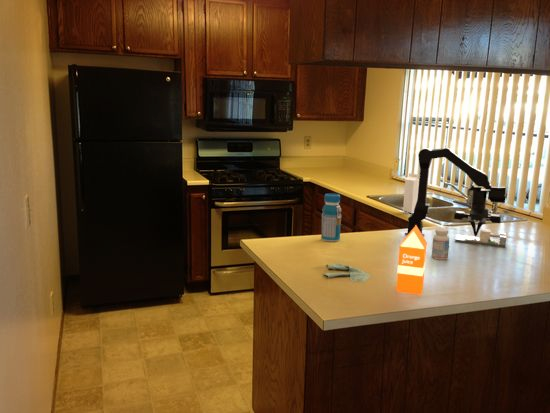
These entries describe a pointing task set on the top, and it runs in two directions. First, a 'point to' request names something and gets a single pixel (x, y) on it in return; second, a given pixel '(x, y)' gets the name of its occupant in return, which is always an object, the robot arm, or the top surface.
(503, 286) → the top surface
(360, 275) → the cloth
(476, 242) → the gauge base
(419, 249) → the orange juice
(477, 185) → the robot arm
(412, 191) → the milk
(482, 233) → the white square block
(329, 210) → the beverage bottle
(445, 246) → the pill bottle
